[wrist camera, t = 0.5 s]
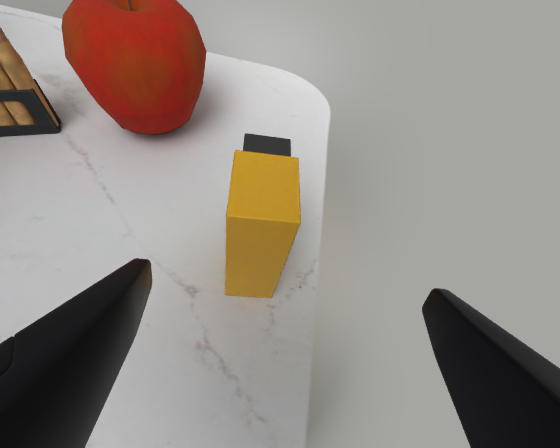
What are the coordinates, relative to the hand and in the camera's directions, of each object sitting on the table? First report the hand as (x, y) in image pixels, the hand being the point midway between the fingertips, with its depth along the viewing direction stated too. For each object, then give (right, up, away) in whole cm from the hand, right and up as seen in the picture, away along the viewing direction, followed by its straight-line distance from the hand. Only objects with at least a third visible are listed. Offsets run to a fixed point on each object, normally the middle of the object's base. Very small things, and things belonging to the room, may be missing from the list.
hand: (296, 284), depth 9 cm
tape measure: (-3, -2, +18) cm, 18 cm away
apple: (-15, +14, +26) cm, 33 cm away
